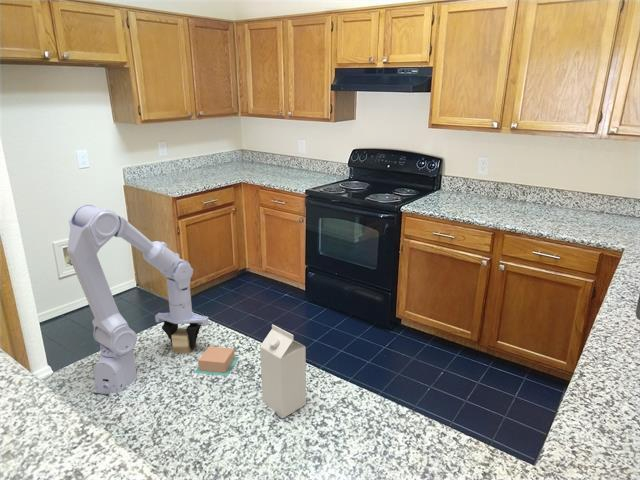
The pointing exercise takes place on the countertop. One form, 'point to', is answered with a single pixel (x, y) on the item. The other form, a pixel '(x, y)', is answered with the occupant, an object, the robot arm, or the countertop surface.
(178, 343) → the maple block
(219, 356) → the base block
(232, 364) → the board
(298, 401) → the milk carton
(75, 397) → the countertop surface
